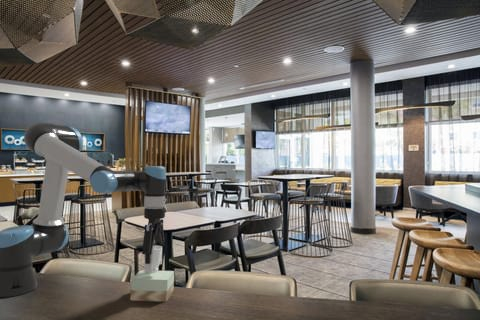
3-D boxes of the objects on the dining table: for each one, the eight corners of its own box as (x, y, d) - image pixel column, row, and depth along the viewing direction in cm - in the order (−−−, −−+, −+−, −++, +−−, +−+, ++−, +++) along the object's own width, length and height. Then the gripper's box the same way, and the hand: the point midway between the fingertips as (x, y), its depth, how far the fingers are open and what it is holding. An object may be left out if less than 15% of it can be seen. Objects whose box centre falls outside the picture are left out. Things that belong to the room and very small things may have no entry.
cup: (139, 272, 115) (140, 249, 116) (148, 264, 125) (148, 243, 126) (159, 273, 115) (159, 250, 116) (166, 264, 125) (166, 243, 126)
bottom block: (130, 301, 116) (130, 290, 116) (140, 290, 126) (140, 280, 126) (166, 302, 115) (166, 291, 115) (173, 292, 125) (173, 281, 125)
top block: (131, 290, 116) (131, 278, 116) (140, 280, 126) (140, 270, 126) (167, 291, 115) (167, 279, 115) (174, 281, 125) (174, 271, 125)
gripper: (154, 211, 110) (152, 278, 109) (173, 204, 132) (172, 259, 131) (132, 211, 110) (131, 277, 110) (155, 203, 133) (154, 259, 132)
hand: (153, 267), depth 120 cm, fingers closed on cup, 10 cm apart
